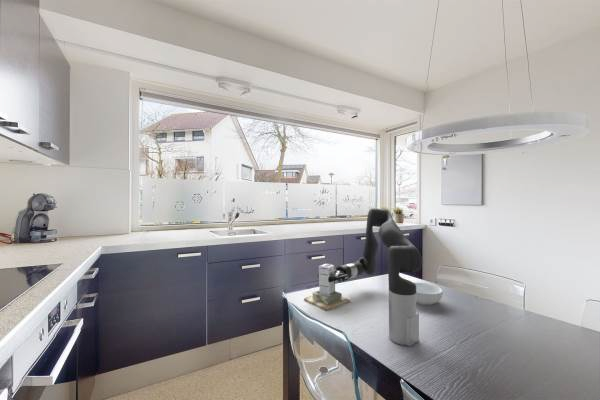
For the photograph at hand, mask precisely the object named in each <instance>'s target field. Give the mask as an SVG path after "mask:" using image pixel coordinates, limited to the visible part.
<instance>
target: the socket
mask: <svg viewBox="0 0 600 400" xmlns="http://www.w3.org/2000/svg"><path fill="white" fill-rule="evenodd" d="M342 295H343V293H341V292H339V291H337V290H335V294H334V295H332V296H329V297H325V296H323V295H320V290H315V291H313V292H312V295H310V296H306V297H304V298H303V300H304V301H305V302H307V303H309V304H312V305H313V306H316V307H318V308H319V309H322V310H324V311H331V310H333V309H335V308H338V307H341V306H343V305H346V304H349V303H351V299H349V298H347V297H343V296H342Z"/></svg>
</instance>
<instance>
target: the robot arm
mask: <svg viewBox="0 0 600 400" xmlns="http://www.w3.org/2000/svg"><path fill="white" fill-rule="evenodd" d="M373 227H376V228H379V229H378V236H379V238H380V240H381V242H382V244H383V245H384V246H385V247H387V248H388V249H387V256H386V257H387V272H388V277H387V279H388V337H389V339H390V341H392V342H394V343H396V344H398V345H402V346H407V347H412V346H413V345H415V344H416V343H417V342H419V341H420V315H419V313H417V303H416V285H415V284H414V283H415V282H413V281H412V280H409V279H406V278H403V277H401V276H400V273H417V272H419V271H420V270H421V269H422V267H423V257H422V255H421V253H420V251H419V249H418V248H417V247H416V246H415V245H414V244H413V243H412V241H410V240H409V239H408V237H406V235H405V234H404V233H403V231H402V230H401V228H400V227H399V226H398V225H397V223H396V221H395V220H394V218H393V216H392V213H391V211H389V210H388V209H383V208H373V207H372V208H369V211H368V212H367V219H366V228H365V229H366V230H365V242H364V247H363V251H362V256H363V257H360V258H359V259H357V260H356V261H355V262H351V263H345V264H343V265H342V264H341V265H338V266H336V268H335V269H334V271H335V276H332V277H329V278H328V282H333V281H335V282H339V283H341V282H345V281H349V280H350V279H353V278H355V277H357V276H360V275H362V274H363V273H365V274H366V275H368V276H372V275H373V274H374V273H376V271H377V265H378V264H377V253H378V249H379V244H378V240H377V238H376V236H375V233H374V232H373V231H374V230H373ZM317 279H319V273H318V274H317Z"/></svg>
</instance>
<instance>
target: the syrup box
mask: <svg viewBox="0 0 600 400" xmlns="http://www.w3.org/2000/svg"><path fill="white" fill-rule="evenodd" d="M334 270H335V264H332V263H323V264H322V265H319V266H318V274H319V278H318V283H319V286H318V288H319V290H320V295H323V296H325V297H329V296H332V295H334V294H335V291H336V281H333V282H328V278H329V277H332V276H335V271H334ZM319 290H318V291H319Z"/></svg>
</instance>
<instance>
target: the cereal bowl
mask: <svg viewBox="0 0 600 400" xmlns="http://www.w3.org/2000/svg"><path fill="white" fill-rule="evenodd" d="M413 283H414V284H415V285H416V305H421V306H430V305H432V304H434V305H435V304H437V303H439V302H440V301H441V300H442V298H443V288H441V287H439V286H438V285H435V284H430V283H425V282H413Z"/></svg>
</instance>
